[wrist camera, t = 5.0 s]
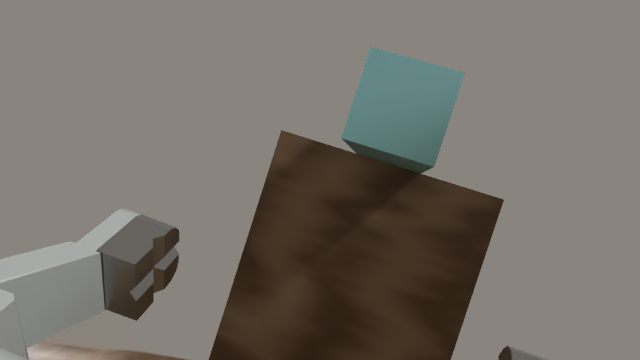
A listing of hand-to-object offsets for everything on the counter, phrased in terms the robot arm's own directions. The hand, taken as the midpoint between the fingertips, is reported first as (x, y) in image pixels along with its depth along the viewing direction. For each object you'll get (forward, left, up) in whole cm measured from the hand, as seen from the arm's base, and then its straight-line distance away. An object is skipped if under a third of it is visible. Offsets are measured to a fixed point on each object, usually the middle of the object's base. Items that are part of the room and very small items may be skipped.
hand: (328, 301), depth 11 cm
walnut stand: (-4, -22, -22) cm, 31 cm away
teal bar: (-3, -20, +4) cm, 21 cm away
